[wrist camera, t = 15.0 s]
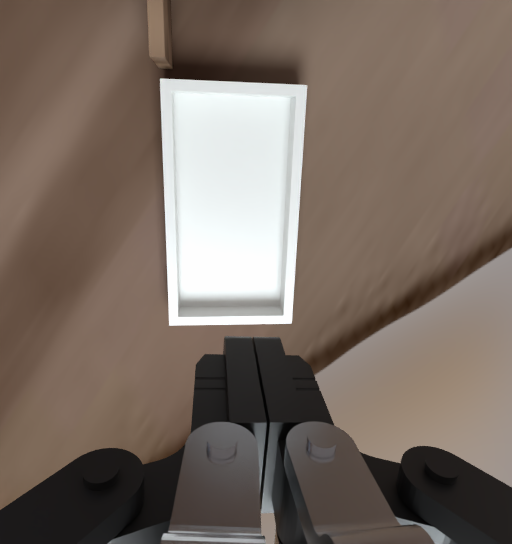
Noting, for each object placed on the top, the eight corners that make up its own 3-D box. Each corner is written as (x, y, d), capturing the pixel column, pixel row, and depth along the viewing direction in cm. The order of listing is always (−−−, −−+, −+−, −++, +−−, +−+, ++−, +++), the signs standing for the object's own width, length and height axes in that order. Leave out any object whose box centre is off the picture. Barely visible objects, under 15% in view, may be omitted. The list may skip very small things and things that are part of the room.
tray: (286, 310, 41) (291, 323, 38) (172, 311, 40) (169, 325, 37) (299, 88, 35) (307, 85, 32) (164, 82, 34) (159, 78, 31)
